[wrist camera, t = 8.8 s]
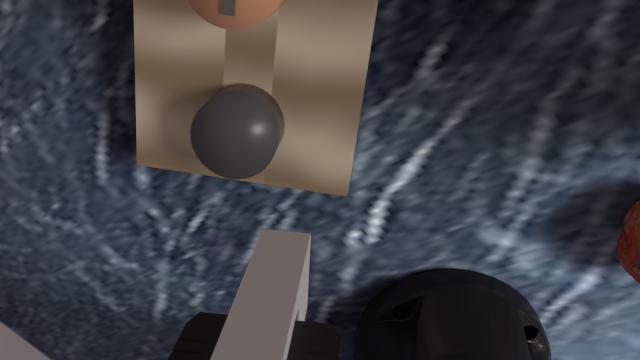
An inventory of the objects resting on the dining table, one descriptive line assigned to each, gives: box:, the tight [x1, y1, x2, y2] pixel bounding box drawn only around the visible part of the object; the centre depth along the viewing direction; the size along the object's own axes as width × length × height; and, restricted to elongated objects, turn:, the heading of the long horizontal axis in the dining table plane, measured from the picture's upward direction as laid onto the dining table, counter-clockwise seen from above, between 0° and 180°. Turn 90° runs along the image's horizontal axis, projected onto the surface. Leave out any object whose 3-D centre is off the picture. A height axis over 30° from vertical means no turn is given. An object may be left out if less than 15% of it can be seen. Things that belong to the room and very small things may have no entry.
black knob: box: [190, 84, 285, 179], centre depth 34 cm, size 5×5×7 cm
